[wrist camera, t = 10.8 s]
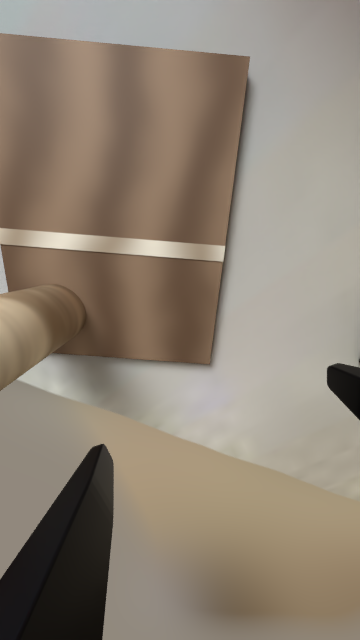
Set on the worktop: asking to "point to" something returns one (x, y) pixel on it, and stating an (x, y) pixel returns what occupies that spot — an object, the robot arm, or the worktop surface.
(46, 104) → the walnut board
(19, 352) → the wooden pin
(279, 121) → the worktop surface
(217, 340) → the worktop surface
